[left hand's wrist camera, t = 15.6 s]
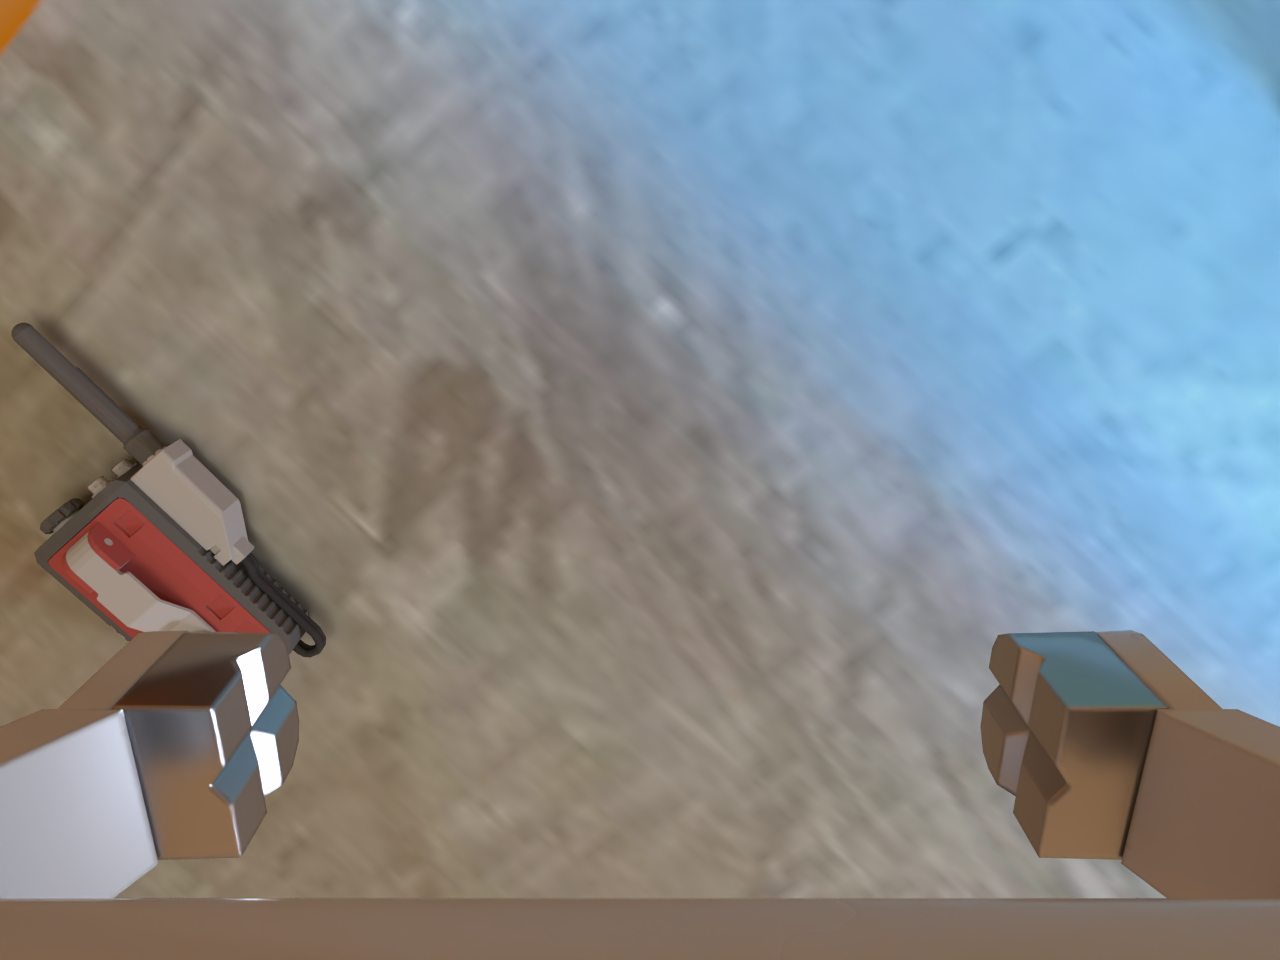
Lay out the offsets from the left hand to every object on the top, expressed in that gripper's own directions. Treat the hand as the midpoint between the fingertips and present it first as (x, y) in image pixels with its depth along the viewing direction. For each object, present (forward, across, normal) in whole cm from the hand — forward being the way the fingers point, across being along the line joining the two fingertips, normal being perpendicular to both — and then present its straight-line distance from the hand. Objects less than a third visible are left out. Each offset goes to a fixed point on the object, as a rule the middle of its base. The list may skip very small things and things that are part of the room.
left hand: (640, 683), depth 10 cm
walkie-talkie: (+32, -24, -11) cm, 41 cm away
